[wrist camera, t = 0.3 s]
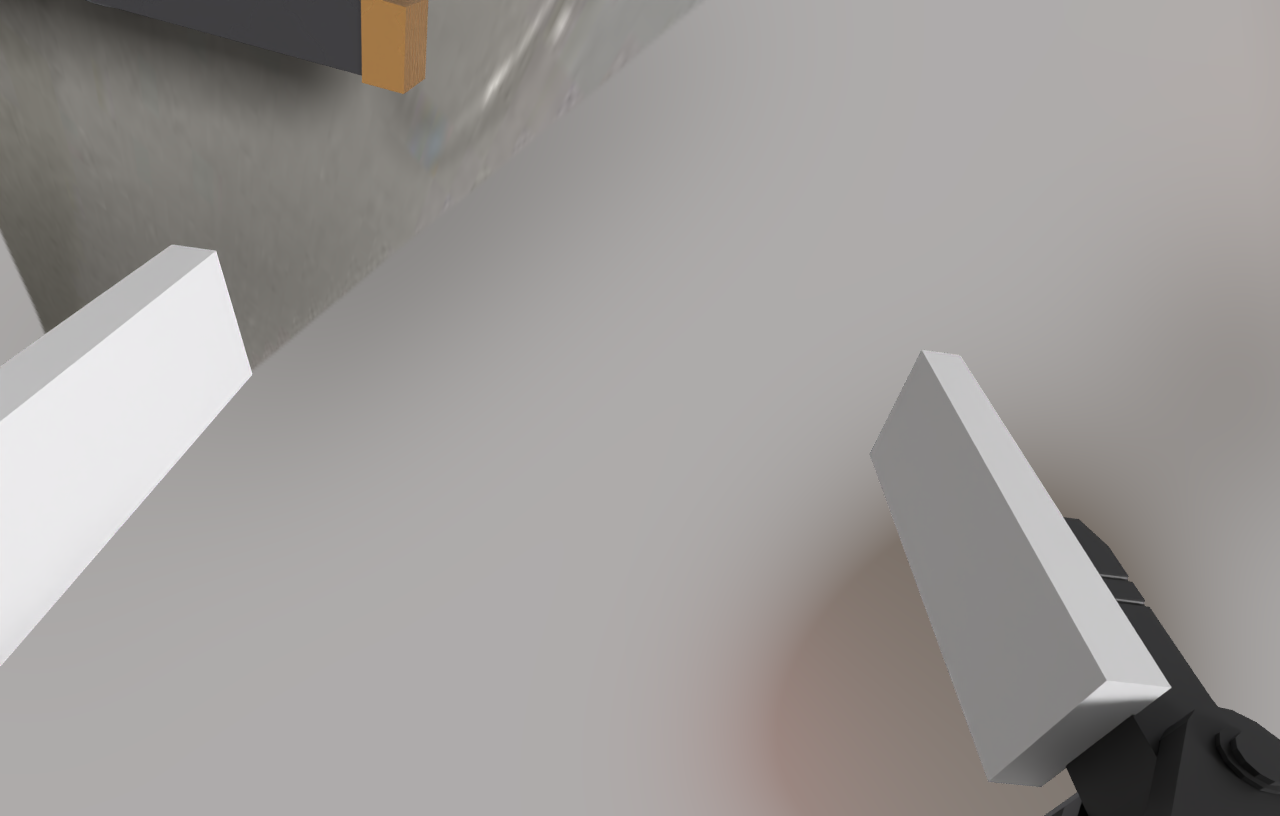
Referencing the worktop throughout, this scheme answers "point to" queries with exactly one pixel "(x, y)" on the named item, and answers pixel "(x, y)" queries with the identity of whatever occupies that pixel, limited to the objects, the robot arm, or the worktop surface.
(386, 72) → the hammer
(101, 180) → the worktop surface
